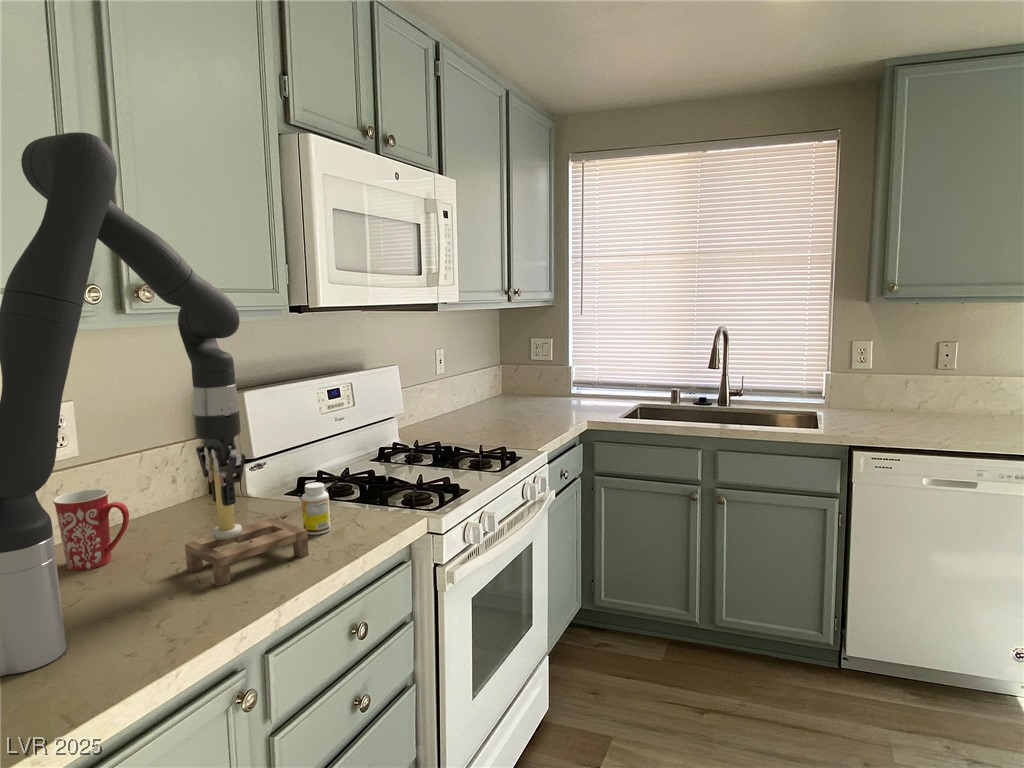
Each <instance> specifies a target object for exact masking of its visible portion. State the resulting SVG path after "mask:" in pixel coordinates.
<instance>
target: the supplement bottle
mask: <svg viewBox="0 0 1024 768" xmlns="http://www.w3.org/2000/svg"><path fill="white" fill-rule="evenodd" d="M325 490H326V488H325V484H324V483H323V482H319V481H318V482H310V483H306V484H305V486H304V492H305V493H303V494H302V495H301V505H302V508H301V511H302V521H303V529H305V530H307V535H310V536H317V535H323V534H326V533H328V532H329V531H330V530H331V514H330V513H331V511H330V496H329V493H328V492H327V491H325Z"/></svg>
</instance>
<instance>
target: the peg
mask: <svg viewBox="0 0 1024 768" xmlns="http://www.w3.org/2000/svg"><path fill="white" fill-rule="evenodd" d="M227 467H228V466H224V467H221V468H222V469H223V468H227ZM213 469H214V480H215V492H216V502H215V504H216V513H217V526H215V527H214V528H212V530H211V533H212V536H213V538H214V539H230V538H234V537H237V536H239V535H241V534H242V527H243V526H242V525H241V524H239V523H236V522H235V521H236V520H235V511H234V509H235V508H234V504H232V505H229V506H224V505H223V504H222V496H221V483H220V477H219V474H217V473H216V469H215V463H214V459H213ZM226 473H227V472H226ZM226 473H225V478H226Z"/></svg>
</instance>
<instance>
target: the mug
mask: <svg viewBox="0 0 1024 768" xmlns="http://www.w3.org/2000/svg"><path fill="white" fill-rule="evenodd" d="M108 496H109V490H107V489H104V488H94V489H93V488H91V489H82V490H76V491H72V492H69V493H68V492H66V493H63V494H61V495H59V496H57V497H54V499H53V500H52V503H53V504H54V506H55V513H56V516H57V521H58V527H59V531H60V532H59V533H60V538H61V542H62V547H63V553H64V557H65V564H66V568H67V570H69V569H71V570H70V571H73V570H81V571H86V570H85V569H88V570H93V569H96V567H97V568H99V566H100V567H103V566H105V565H106V564H108V563H109V562H111V560H112V551H113V550H114V549H115V548H116V546H117V544H118V543H119V542H120V540H121V539H122V538H123V536H124V534H125V533H126V530H127V528H128V525H129V522H130V513H129V512H130V511H129V509H128V507H127V505H125V504H124V503H123V502H120V501H114V502H110V503H109V500H108V498H109V497H108ZM113 508H117V509H118V510H119V511H120V512H121V514H122V524H121V527H120V530H119V532H118V533H117V535H116V536H115V538H114V539H113V541H111V532H110V530H111V529H110V516H109V515H110V511H111V510H112V509H113ZM104 564H105V565H104ZM92 568H93V569H92Z"/></svg>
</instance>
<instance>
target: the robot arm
mask: <svg viewBox="0 0 1024 768" xmlns="http://www.w3.org/2000/svg"><path fill="white" fill-rule="evenodd" d="M20 162H21V169H22V172H23V175H24V177H25V178H26V180H27V182H28V183H29V185H30V186H31V187H32V188H33V189H34V190H35V192H37V193H38V194H40V195H41V196H42V197H43V198H45V199H46V200H47V201H46V206H45V211H44V214H43V218H42V219H41V220H42V221H41V223H40V225H39V227H38V229H37V231H36V233H35V234H34V236H33V237H32V239H31V240H30V242H29V243H28V245H27V246H26V248H25V249H24V250H23V252H22V254H21V255H20V256H19V258H18V260H17V262H16V263H15V265H14V266H13V267H12V270H11V271H10V274H9V276H8V277H7V280H6V283H5V286H4V290H3V295H2V298H1V302H0V303H1V304H0V371H1V385H2V386H1V394H0V677H4V676H7V675H8V676H9V675H15V674H20V673H26V672H29V671H32V670H36V669H38V668H42V667H43V666H46V665H47V664H50V663H52V662H53V661H55V660H57V659H58V658H60V657H61V656H62V655H63V654H64V653H65V651H66V650H67V644H66V633H65V626H64V618H63V608H62V599H61V592H60V591H61V590H60V582H59V575H58V574H59V573H58V566H57V564H58V563H57V559H56V558H57V556H56V549H55V548H56V547H55V541H54V540H55V538H54V530H53V529H54V528H53V522H52V518H51V516H50V514H49V513H48V511H46V509H45V508H44V507H43V506H42V505H41V503H40V501H39V498H38V497H37V492H38V491H39V490H40V489H41V488H42V487H43V486H44V485H46V483H47V481H48V480H49V479H50V476H52V473H53V470H54V467H55V464H56V458H57V449H58V442H59V441H58V438H59V427H60V420H61V419H60V417H61V407H62V401H63V395H64V390H65V385H66V381H67V378H68V377H67V376H68V373H69V367H70V363H71V359H72V354H73V353H72V352H73V349H74V343H75V340H76V337H77V333H78V330H79V325H80V321H81V320H80V319H81V317H82V316H81V315H82V312H83V307H84V300H85V295H86V294H85V293H86V289H87V284H88V279H89V276H90V272H91V268H92V262H93V259H94V253H95V249H96V244H97V241H99V242H100V243H102V244H103V245H105V246H106V247H107V248H108V249H109V250H110V251H112V252H113V253H114V254H115V255H116V256H118V257H119V258H120V260H122V261H123V263H125V265H127V266H128V267H129V268H130V269H131V270H132V271H133V272H134V273H135V274H136V275H137V276H138V277H139V278H140V279H141V281H143V282H144V283H145V284H146V286H148V288H150V289H151V291H153V292H154V293H155V295H157V296H158V297H159V298H160V299H161V300H162V301H163V302H164V303H167V304H168V305H172V306H177V307H179V308H180V309H179V311H178V314H177V326H178V330H179V335H180V337H181V340H182V344H183V346H184V349H185V352H186V354H187V357H188V359H189V362H190V365H191V380H192V407H193V417H194V419H193V420H194V428H195V429H194V430H195V432H194V433H195V437H196V438H197V439H200V440H203V444H202V445H200V446H197V447H196V449H195V450H196V454H197V458H198V460H199V464H200V466H201V467H200V468H201V471H202V474H203V477H204V478H208V481H209V483H211V495H212V501H213V502H214V503H216V492H215V480H214V469H213V459H214V463H215V469H216V473H217V474H219V477H220V483H221V496H222V504H223V505H224V506H229V505H232V504H233V505H235V504H236V491H235V490H236V489H235V484H237V483H241V482H242V480H243V472H244V468H245V462H246V455H245V453H239V452H238V451H237V445H236V442H235V437H236V436H238V435H240V434H241V432H242V431H241V427H242V426H241V418H240V417H241V416H240V406H239V405H240V404H239V395H238V391H237V385H236V374H235V362H234V358H233V356H232V354H230V353H229V352H227V351H225V350H223V349H221V348H220V346H219V344H218V341H217V339H226V338H229V337H231V336H233V335H234V334H236V332H237V330H238V329H239V326H240V320H241V319H240V315H239V311H238V310H237V307H236V306H235V304H234V303H233V301H231V299H230V298H229V297H228V296H227V295H225V294H224V293H223V292H222V291H220V289H218V288H217V287H215V286H213V284H211V283H210V282H208V281H207V280H205V279H204V278H202V277H200V276H199V275H198V274H197V273H196V271H194V270H193V268H192V267H191V266H190V265H189V264H188V263H187V261H185V259H184V258H183V257H182V256H181V254H180V253H178V251H177V250H175V249H174V247H172V246H171V244H170V243H168V242H167V241H166V240H164V239H163V238H162V237H161V236H159V235H158V234H157V233H155V232H154V231H152V230H150V229H149V228H148V227H146V226H145V225H143V224H142V223H140V222H139V221H138V220H136V219H134V218H133V217H131V216H130V215H129V214H127V213H126V212H125V211H124V210H122V209H121V208H120V207H119V206H118V205H117V204H115V203H114V202H113V200H111V199H112V196H113V194H114V191H115V187H116V183H117V178H118V177H117V176H118V175H117V174H118V170H117V169H118V167H117V163H116V162H117V161H116V159H115V155H114V153H113V152H112V150H111V148H110V147H109V145H108V144H107V143H106V142H105V141H104V140H103V139H102V138H100V137H99V136H96V135H94V134H92V133H88V132H79V131H78V132H76V131H75V132H66V133H61V134H55V135H49V136H45V137H41V138H40V137H39V138H37V139H34V140H33V141H32V142H30V143H28V144H26V147H25V148H24V149H23V151H22V153H21V158H20ZM224 466H228V467H227V468H223V469H222V468H221V467H224ZM226 472H227V473H226ZM225 473H226V478H225Z"/></svg>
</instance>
